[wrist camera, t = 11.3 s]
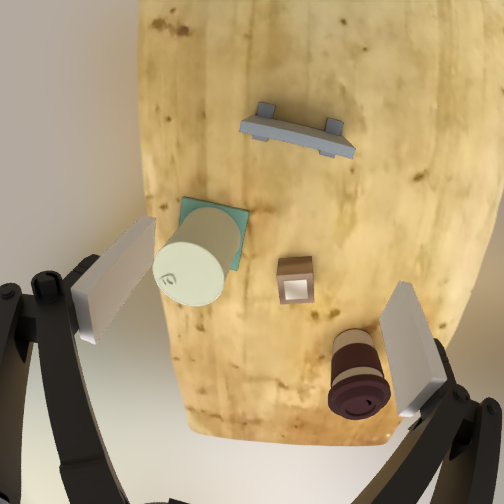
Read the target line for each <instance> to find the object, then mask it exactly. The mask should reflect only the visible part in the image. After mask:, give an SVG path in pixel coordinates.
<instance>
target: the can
mask: <svg viewBox="0 0 504 504" xmlns="http://www.w3.org/2000/svg"><path fill="white" fill-rule="evenodd" d="M240 242H241V234H240V230H239V227H238V225H237V223H236V222H235V220H234V219H233V218H232V217H231V216H230V215H229V214H228V213H226V212H224V211H223V210H220V209H218V208H214V207H202V208H198V209H196V210H194V211H192V212H191V213H189V214H188V215H187V216H186V218H185V219H184V221H183V223H182V224H181V226H180V227H179V228H178V229H177V231H176V232H175V233H174V234H173V235H172V237H171V238H170V239H169V240H168V242H167V243H166V244H165V245H164V246H163V247H162V248H161V249H160V250H159V251H158V252H157V254H156V256H155V258H154V263H153V274H154V278H155V280H156V283H157V284H158V286H159V288H160V289H161V290H162V291H163V292H164V293H165V294H166V295H167V296H168V297H169V298H171V299H172V300H174V301H176V302H178V303H180V304H183V305H187V306H203V305H207V304H209V303H211V302H213V301H214V300H216V299H217V298H218V297H219V295H220V294H221V292H222V290H223V288H224V283H225V280H226V277H227V274H228V272H229V269H230V266H231V263H232V261H233V258H234V256H235V254H236V252H237V251H238V249H239V246H240Z"/></svg>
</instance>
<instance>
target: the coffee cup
mask: <svg viewBox="0 0 504 504" xmlns="http://www.w3.org/2000/svg"><path fill="white" fill-rule="evenodd" d="M390 397H391V391H390V386H389V384H388V382H387V381H386V380H385V379H384V373H383V370H382V367H381V363H380V360H379V357H378V354H377V351H376V350H375V348H374V345H373V342H372V338H371V337H370V335H369V334H368V333H367V332H365V331H363V330H358V329H353V330H348V331H345V332H343V333H341V334H340V335H339V336H338V337H337V338H336V339H335V341H334V344H333V357H332V363H331V389H330V391H329V394H328V406H329V408H330V409H331V410H332V411H333V412H334V413H336V414H337V415H340V416H342V417H344V418H346V419H350V420H360V419H365V418H368V417H371V416H373V415H375V414H376V413H377V412H378V411H379V410H380V409H381V408H383V407H384V406H385V405H386V404H387V403H388V401H389V399H390Z"/></svg>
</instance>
